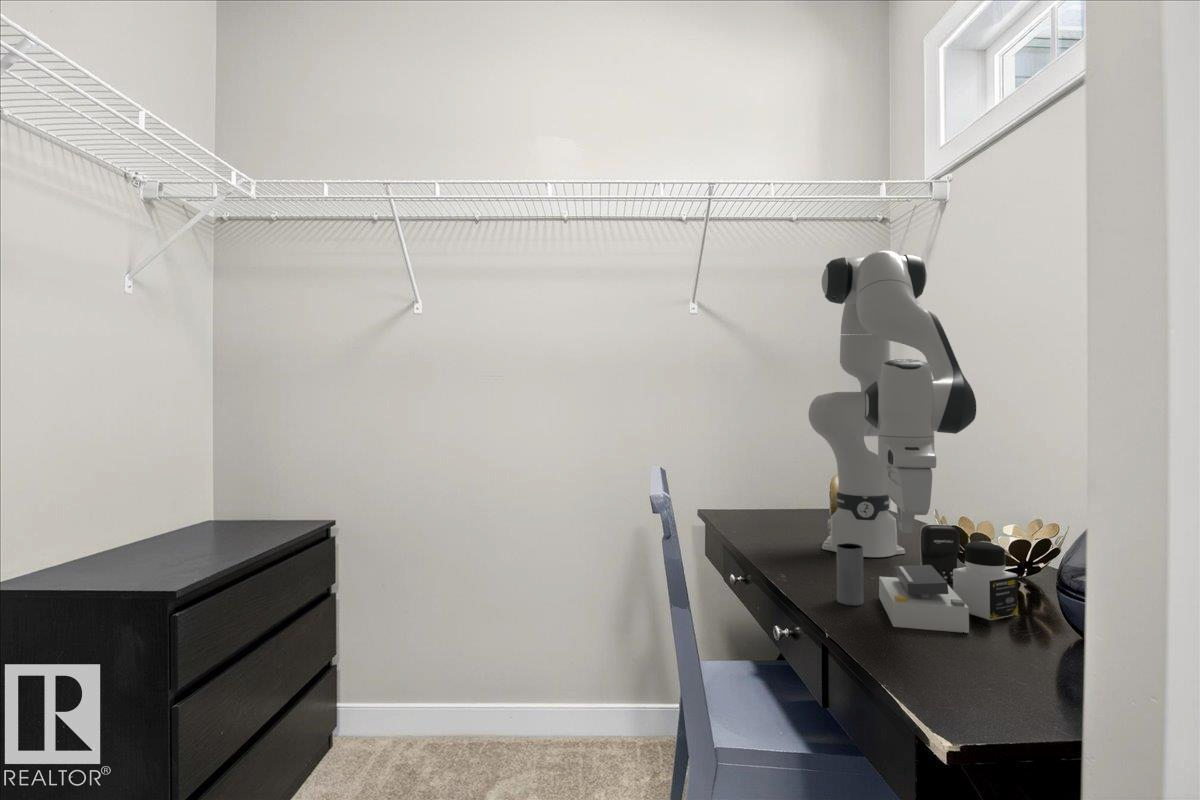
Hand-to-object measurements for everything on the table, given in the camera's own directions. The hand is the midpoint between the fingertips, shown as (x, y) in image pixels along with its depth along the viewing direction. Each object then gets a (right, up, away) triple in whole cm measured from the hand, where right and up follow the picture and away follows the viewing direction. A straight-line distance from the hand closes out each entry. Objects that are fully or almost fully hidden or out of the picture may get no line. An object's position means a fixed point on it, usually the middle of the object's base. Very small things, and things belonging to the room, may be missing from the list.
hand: (905, 531), depth 113 cm
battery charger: (+16, -14, +19) cm, 29 cm away
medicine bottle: (+14, -14, 0) cm, 20 cm away
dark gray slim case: (+2, -8, -1) cm, 8 cm away
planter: (-7, -14, +6) cm, 17 cm away
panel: (+2, -14, -1) cm, 14 cm away
